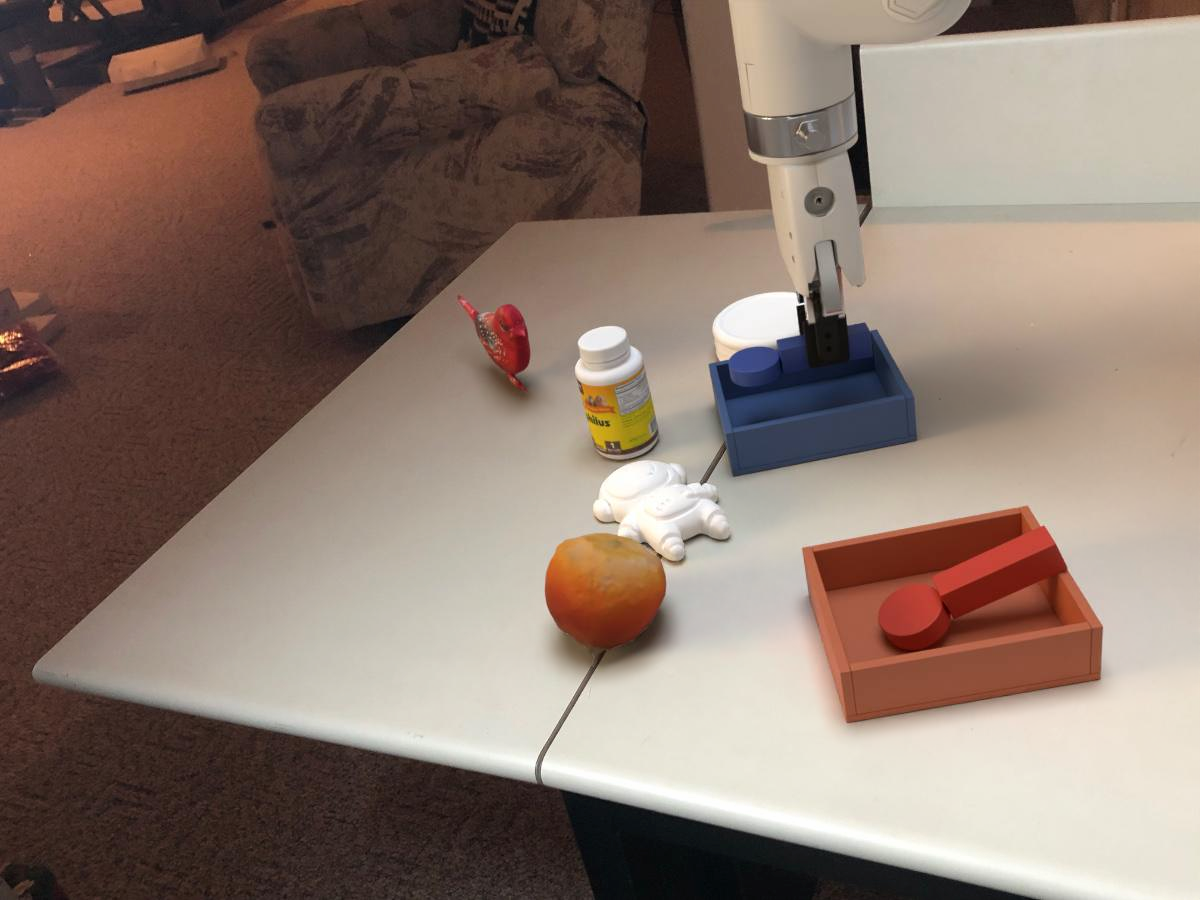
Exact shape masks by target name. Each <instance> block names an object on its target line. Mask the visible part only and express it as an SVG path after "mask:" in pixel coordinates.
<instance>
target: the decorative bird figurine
mask: <svg viewBox="0 0 1200 900" xmlns="http://www.w3.org/2000/svg"><path fill="white" fill-rule="evenodd" d="M456 297H457V299H458V301H459V302H460V304H461V306H462V307H463V308H464V310H465V312H466V313H467V314H468V316H469V317H470V319H471V321H472V322H473V324H474V328H475V331H476V334H477V337H478V339H479V341H480V342H481V344H482V346H483V348H484V350H485V351H486V353H487V355H488V356H489V358H490V359H491V361H492V362H493V363H494V364H495V365H496V366H497V367H498V368H499V369H500V370H501V371H503V372H505V375H507V376H508V379H509V381H510V382H511V383H512V384H513V385H514V386H515V387H516V388H517V389H521V390H524V391H525V392H527V393H528V392H529V391H528V390H527V388H526V387H525V386H524V385H523V382H522V381H521V380H520V379H518V377H517V374H520V373H521V372H524V371H525V370H526V369H527V368H528V367H529V364H530V361H531V345H530V344H531V343H530V340H529V331H528V327H527V324H526V321H525V318H524V316H523V315H522V313H521V311H520V310H519V308H518V307H517V306H515V305H514V304H512V303H507V304H506V303H505V304H503V305H501V306H499V307H498V308H497V309H496V311H483V312H479V311H478V310H476V308H475V307H473V306H472V305H471V304H470V303H469V302H468V301H467V300H466V299H465V298H464V297H463V296H461V295H459V294H458V295H457V296H456Z"/></svg>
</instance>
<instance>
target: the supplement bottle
mask: <svg viewBox="0 0 1200 900" xmlns="http://www.w3.org/2000/svg"><path fill="white" fill-rule="evenodd" d="M577 346H578V351H579V357H580V358H578V361H577V362H576V364H575V367H574V373H575V378H576V382H577V385H578V386H577V387H578V389H579V393H580V397H581V400H582V404H583V408H584V412H585V416H586V420H587V424H588V427H589V432H590V435H591V440H592V442H593V446H594V448H595V450H596V451H597V453H598V454H600V455H601V456H602V457H605V458H607V459H611V460H628V459H629V460H630V459H633V458H636V457H639V456H642V455H643V454H645V453H646V452H648V451H649V450H651V449H653V447H654V446H655V445H656V443H657V441H658V439H659V435H660V432H659V431H660V430H659V425H658V421H657V415H656V412H655V407H654V402H653V399H652V394H651V389H650V384H649V380H648V376H647V369H646V366H645V361H644V358H643V355H642V353H641V351H640V350H639V349H637V348H636V347H634V346H633V345H631V343H630V341H629V337H628V333H627V331H626V330H625V329H624V328H623V327H620V326H616V325H605V326H600V327H597V328H593V329H590V330H588V331H587V332H585V333H583V334H582V335H581V336H580V338H578V341H577Z"/></svg>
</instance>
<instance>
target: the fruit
mask: <svg viewBox="0 0 1200 900" xmlns="http://www.w3.org/2000/svg"><path fill="white" fill-rule="evenodd" d="M666 593H667V577H666V571H665V569H664V565H663V561H662V560H661V558H660V557H659V556H658V555H656V554H654V553H651V552H650V551H649V550H648V548H647V547H646V546H645V545H643V544H642V543H638V542H636V541H634V540H632V539H630V538H628V537H622V536H618V534H613V533H609V532H594V533H589V534H583V535H580V536H577V537H573V538H568V539H567V538H566V539H564V540H563V541H561V543H559V544H557V546H556V548H555V552H554V554H553V555H552V557H551V558H550V561H549V563H548V565H547V568H546V571H545V579H544V597H545V603H546V607H547V610H548V613H549V614H550V616H551V618H552V619H553V621H554V622H555V624H556V626H557V628H558V629H559V630H561V631H562V632H563V633H564V634H563V635H564V636H565V635H566V634H567V635H568V636H570V637H571V638H573V639H574V640H575V641H576V642H578V643H579V644H580V645H581V646H582V647H583V648H584V649H585V650H586V651H587V652H588V653H589V654H590V655H591V657H592V661H591V667H593V668H594V669H595V668H596V667H597V663H598V659H599V655H601V653H602V652H605V651H608V650H609V651H610V650H613V649H616V648H619V647H622V646H624V645H627V644H629V643H631V642H633V641H634V640H635V639H637V638H638V637H639V636H640V635H641V634H642V633H643V632H644V631H645V630H647V629H648V628H650V626H651V625H652V623H653V622H654V619H655V617H656V615H657V613H658V611H659V610H660V608H661V606H662V603H663V601H664V599H665V596H666Z"/></svg>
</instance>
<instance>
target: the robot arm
mask: <svg viewBox="0 0 1200 900" xmlns="http://www.w3.org/2000/svg"><path fill="white" fill-rule="evenodd" d="M971 3H972V0H728V7H729V15H730V24H731V30H732V38H733V45H734V52H735V59H736V66H737V73H738V80H739V90H740V96H741V97H740V98H741V102H742V111H743V119H744V120H743V121H744V124H745V125H744V126H745V134H746V140H747V141H746V142H747V148H748V155H749V157H750V159H752V160H753V161H755V162H758V163H760V164H763V165H766V168H767V169H766V170H767V178H768V187H769V194H770V201H771V208H772V209H771V211H772V215H773V221H774V226H775V227H774V228H775V233H776V238H777V243H778V247H779V251H780V254H781V257H782V260H783V262H784V265H785V267H786V269H787V271H788V274H789V276H790V279H791V280H792V282H793V285H794V287H795V293H796V295H797V300H798V303H799V304H801V303H804V305H799V306H796V309H797V317H798V325H799V333H800V335H804V338H805V347H806V355H807V362H808V365H809V367H810V368H818V367H823V366H829V365H834V364H839V363H844V362H847V361H848V360H849V359H850V351H849V340H848V329H847V326H848V320H847V319H848V318H847V314H846V309H845V299H844V298H845V297H844V287H843V275H844V276H845V278H846V279H847V281H848V283H849V284H850V286H851V287H857V288H861V287H863V286H864V284H865V283H866V281H867V274H866V265H865V256H864V251H863V242H862V241H863V240H862V233H861V225H860V217H859V211H858V201H857V194H856V189H855V182H854V177H853V171H852V165H851V161H850V158H849V153H848V150H849V149H851V148H852V147H853V146H854V145H856V143H857V142H858V139H859V134H858V117H857V106H856V91H855V82H854V81H855V80H854V69H853V54H852V45H905V44H913V43H919V42H923V41H926V40H930V39H932V38H935V37H936V36H938V35H940V34H942V33H944V32H945V31H947V30H948V29H950V28H951V27H953V26H954V25H955V24H956V23H957V22H958V21H959V20H960V19H961V18H962V16H963V15H964V14H965V13H966V11H967V10H968V8H969V6H970V4H971ZM842 272H843V273H842ZM842 274H843V275H842Z"/></svg>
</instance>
